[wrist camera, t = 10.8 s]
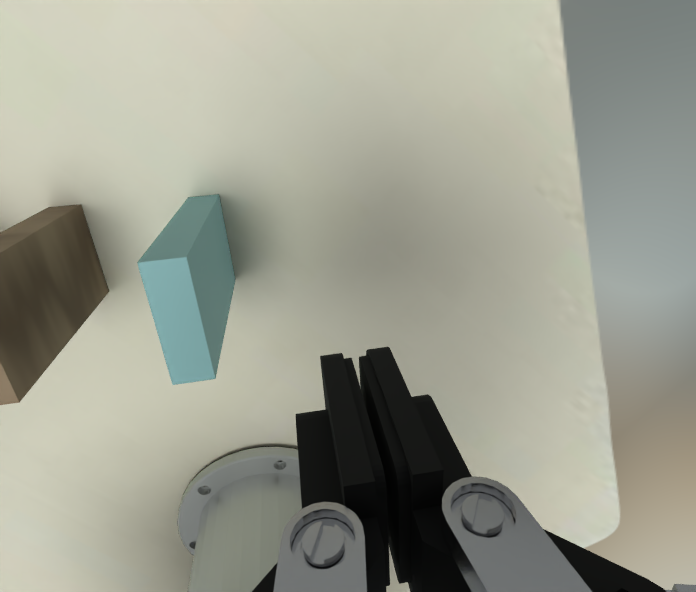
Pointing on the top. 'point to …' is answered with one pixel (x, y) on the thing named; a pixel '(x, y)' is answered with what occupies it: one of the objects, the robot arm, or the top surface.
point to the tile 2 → (44, 293)
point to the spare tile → (190, 288)
